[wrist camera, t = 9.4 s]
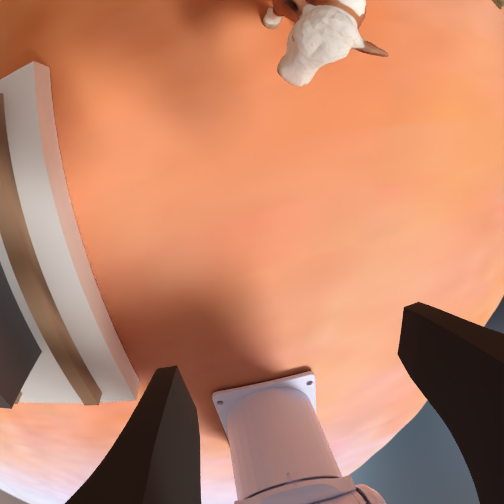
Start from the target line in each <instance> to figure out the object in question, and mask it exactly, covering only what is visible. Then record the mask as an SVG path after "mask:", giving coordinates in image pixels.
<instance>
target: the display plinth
mask: <svg viewBox="0 0 504 504" xmlns="http://www.w3.org/2000/svg"><path fill="white" fill-rule="evenodd" d="M0 262H1V265H2V268H3V270H4V273H5V275H6V278H7V281H8V283H9V285H10V288H11V290H12V292H13V295H14V297H15V299H16V302H17V304H18V306H19V308H20V310H21V312H22V314H23V316H24V319H25V321H26V323H27V325H28V327H29V329H30V330H31V332H32V334H33V336H34V338H35V340H36V342H37V344H38V345H39V347H40V349H41V351H42V353H41V354H40V356H39V358H38V360H37V361H36V363H35V365H34V367H33V369H32V370H31V372H30V374H29V376H28V378H27V379H26V381H25V383H24V385H23V387H22V389H21V391H20V393H19V395H18V397H17V399H16V401H15V403H14V404H18V402H31V403H83V404H84V405H99V403H100V402H118V401H132V400H136V399H137V393H138V388H139V382H140V381H139V379H138V377H137V375H136V373H135V371H134V369H133V367H132V365H131V363H130V361H129V359H128V357H127V355H126V353H125V351H124V348H123V346H122V344H121V342H120V340H119V337H118V335H117V333H116V331H115V328H114V326H113V324H112V321H111V319H110V317H109V314H108V312H107V309H106V307H105V305H104V302H103V299H102V297H101V294H100V292H99V289H98V286H97V284H96V281H95V278H94V275H93V273H92V270H91V267H90V264H89V261H88V258H87V255H86V252H85V249H84V246H83V243H82V239H81V236H80V233H79V229H78V226H77V222H76V219H75V215H74V211H73V208H72V204H71V200H70V196H69V192H68V188H67V183H66V179H65V174H64V170H63V165H62V160H61V154H60V149H59V143H58V137H57V131H56V124H55V117H54V109H53V101H52V91H51V79H50V67H48V66H45V65H43V64H40V63H38V62H35V61H33V62H31V63H29V64H27V65H25V66H23V67H21V68H19V69H18V70H16V71H14V72H12V73H11V74H9V75H7V76H5V77H4V78H2V79H0Z"/></svg>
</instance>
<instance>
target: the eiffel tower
mask: <svg viewBox="0 0 504 504" xmlns="http://www.w3.org/2000/svg"><path fill="white" fill-rule="evenodd" d="M492 1H493V2H494V3H495V4H496V6H497V7H498V8H499V9H501V7H502V6H504V0H492Z"/></svg>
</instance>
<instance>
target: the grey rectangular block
mask: <svg viewBox="0 0 504 504" xmlns="http://www.w3.org/2000/svg"><path fill="white" fill-rule="evenodd" d="M41 353H42V351H41V349H40V347H39V345H38V344H37V342H36V340H35V338H34V336H33V334H32V332H31V330H30V329H29V327H28V325H27V323H26V321H25V319H24V316H23V314H22V312H21V310H20V308H19V306H18V304H17V302H16V299H15V297H14V295H13V292H12V290H11V288H10V285H9V283H8V281H7V278H6V275H5V273H4V270H3V268H2V265H1V262H0V408H10V409H12V407H13V405H14V403H15V401H16V399H17V397H18V395H19V393H20V391H21V389H22V387H23V385H24V383H25V381H26V379H27V378H28V376H29V374H30V372H31V370H32V369H33V367H34V365H35V363H36V361H37V360H38V358H39V356H40V354H41Z"/></svg>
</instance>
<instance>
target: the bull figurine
mask: <svg viewBox="0 0 504 504" xmlns="http://www.w3.org/2000/svg"><path fill="white" fill-rule="evenodd" d="M365 14H366V0H273V8H272V7H270V8H268V10H267V13H266V15H265V17H264V18H263V24H264V26H265V27H267V28H269V29H274V28H276V27H277V26H278V25H279V23H280V21H281V17H282V16H285V17H287V18H288V19H290V20H292V21H294V22H296V23H295V25H294V27H293V28H292V30H291V32H290V33H289V36H288V40H287V51H286V54H285V55H284V56H283V57H282V59H281V60H280V62H279V64H278V67H277V72H278V73H279V75H280V76H281V77H282V78H283V79H284V80H285V81H287V82H288V83H289V84H291V85H294V86H298V87H301V86H305V85H307V84H308V83H309V82H310V80H311V79H312V78H313V77H314V75H315V73H316V72H317V70H318V69H319V68H321V67H322V66H324V65H326V64H328V63H332V62H335V61H337V60H339V59H342V58H345V57H346V56H347V55H348V53H349V51H350V49H356V50H358V51H361V52H363V53H367V54H371V55H377V56H382V57H388V53H387V52H385V51H384V50H382V49H380V48H378V47H377V46H375V45H374V44H372V43H370V42H368V41H365V40H363V39H362V38H361V36H360V34H359V32H358V28H359V26H360V25H361V23H362V21H363V20H364V18H365Z"/></svg>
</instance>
